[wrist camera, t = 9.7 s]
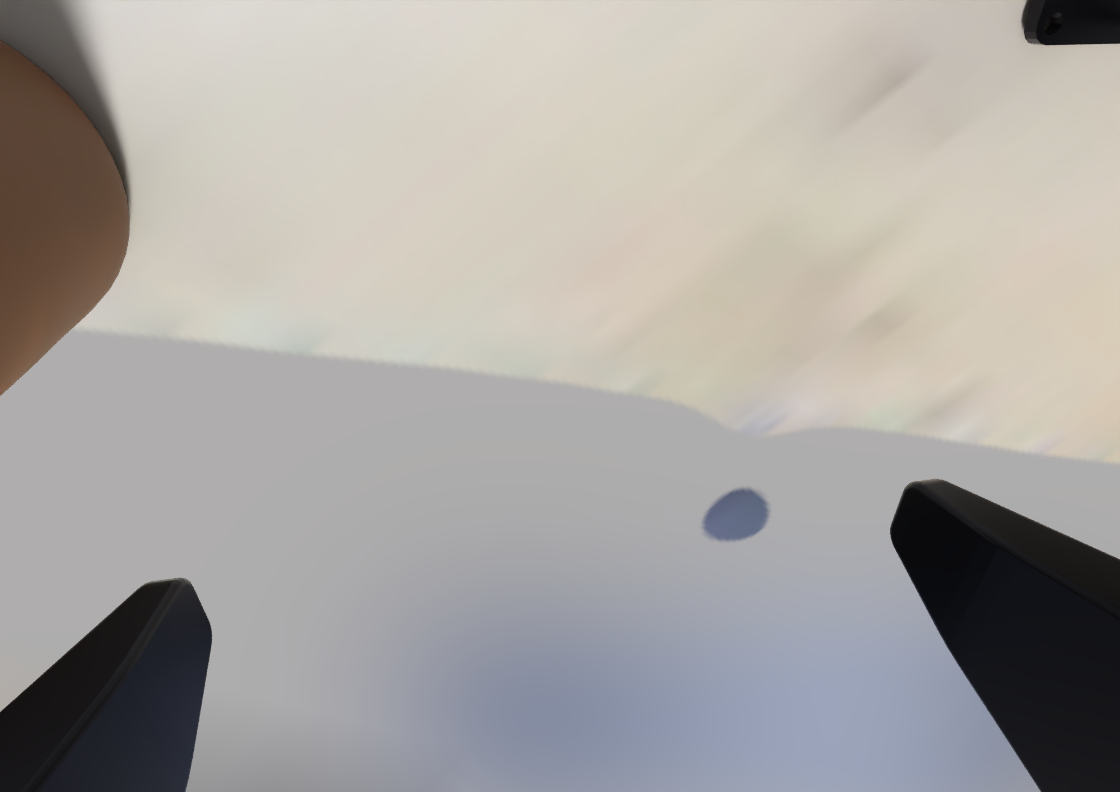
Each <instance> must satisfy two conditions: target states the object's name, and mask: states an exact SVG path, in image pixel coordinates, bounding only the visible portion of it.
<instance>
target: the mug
mask: <svg viewBox="0 0 1120 792" xmlns="http://www.w3.org/2000/svg"><path fill="white" fill-rule="evenodd" d="M128 240H129V210H128V203H127V197H126V194H125V190H124V186H123V183H122V179H121V176H120V174H119V172H118V169H117V167H116V165H115V162H114V160H113V157H112V155H111V154H110V152H109V150H108V148H107V147H106V145H105V143H104V141H103V139H102V138H101V136H100V134H99V133H98V132H97V130H96V129H95V127H94V126H93V125H92V123H91V122H90V120H89V119H88V118H87V116H86V115H85V114H84V112H83V111H82V110H81V109H80V108H79V107H78V105H77V104H76V103H75V102H74V101H73V100H72V99H71V97H70V96H69V95H68V94H67V93H66V92H65V91H64V90H63V89H62V88H61V87H60V86H59V85H58V84H57V83H56V82H54V81H53V80H52V79H51V78H50V77H49V76H48V75H47V74H46V73H45V72H44V71H42V70H41V69H40V68H39V67H37V66H36V65H35V64H34V63H32V62H31V61H30V60H28V59H27V58H26V57H25V56H23V55H22V54H21V53H19V52H17V51H16V50H14V49H13V48H11V47H10V46H8V45H7V44H5V43H4V42H2V41H1V40H0V396H1V395H2V394H3V393H4V392H5V391H6V390H7V389H8V388H9V387H10V386H11V385H13V384H14V383H15V382H16V381H17V380H18V379H19V378H20V377H22V376H23V375H24V374H25V373H26V372H27V371H28V370H29V369H30V368H31V367H32V366H33V365H34V364H35V363H37V362H38V361H39V360H40V359H41V358H42V357H43V356H44V355H45V354H46V353H47V352H48V351H49V350H50V349H51V348H52V347H53V346H54V345H55V344H56V343H57V342H58V341H59V340H60V339H61V338H62V337H63V336H64V335H65V334H66V333H68V332H69V331H70V330H71V329H72V328H73V327H74V326H75V325H76V324H77V323H79V322H80V321H81V320H82V319H83V318H84V317H85V316H86V315H87V314H88V313H89V312H90V311H91V310H92V309H93V308H94V307H95V306H96V305H97V303H98V302H99V301H100V300H101V299H102V298H103V296H104V295H105V294H106V293H107V292H108V290H109V289H110V288H111V286H112V284H113V282H114V281H115V279H116V277H117V276H118V273H119V271H120V269H121V266H122V263H123V260H124V258H125V255H126V251H127V246H128Z"/></svg>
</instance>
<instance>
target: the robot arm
mask: <svg viewBox="0 0 1120 792" xmlns="http://www.w3.org/2000/svg"><path fill="white" fill-rule="evenodd" d="M1049 17H1051V19H1050V24H1049V26H1048V28H1047V29H1046V30H1044V29H1045V23H1046V22H1047V20H1048V18H1049ZM1024 34H1025V39H1026V40H1027V41H1028V42H1029V43H1031V44H1037V45H1076V44H1120V0H1033V2H1032V5H1031V8H1030V11H1029V14H1028V17H1027V20H1026V23H1025V29H1024ZM890 534H891V540H892V543H893V546H894V548H895V550H896V552H897V553H898V555H899V557H900V559H901V561H902V563H903V565H904V567H905V569H906V570H907V573H908V574H909V576H910V578H911V580H912V582H913V584H914V586H915V588H916V590H917V592H918V593H919V595H920V597H921V599H922V601H923V603H924V605H925V607H926V609H927V611H928V613H929V614H930V616H931V618H932V620H933V622H934V624H935V626H936V628H937V630H938V631H939V633H940V635H941V637H942V638H943V640H944V642H945V644H946V646H947V648H948V649H949V651H950V652H951V654H952V656H953V657H954V659H955V660H956V662H957V664H958V665H959V667H960V668H961V670H962V671H963V673H964V674H965V676H966V678H967V679H968V680H969V682H970V684H971V685H972V687H973V688H974V690H975V691H976V693H977V694H978V696H979V697H980V699H981V701H982V702H983V704H984V705H985V706H986V708H987V710H988V711H989V713H990V714H991V716H992V717H993V719H994V720H995V722H996V723H997V725H998V727H999V728H1000V730H1001V731H1002V732H1003V734H1004V736H1005V737H1006V739H1007V740H1008V742H1009V743H1010V745H1011V747H1012V748H1013V750H1014V751H1015V753H1016V754H1017V756H1018V757H1019V759H1020V760H1021V762H1022V763H1023V765H1024V767H1025V768H1026V769H1027V771H1028V773H1029V774H1030V776H1031V777H1032V779H1033V780H1034V782H1035V783H1036V785H1037V786H1038V788H1039V790H1040V791H1041V792H1120V559H1118V558H1116V557H1113V556H1111V555H1109V554H1106V553H1105V552H1102V551H1100V550H1098V549H1095V548H1093V547H1091V546H1089V545H1087V544H1084V543H1082V542H1080V541H1078V540H1076V539H1073V538H1071V537H1069V536H1067V535H1064V534H1062V533H1060V532H1058V531H1055V530H1053V529H1051V528H1049V527H1047V526H1044V525H1042V524H1040V523H1038V522H1036V521H1034V520H1031V519H1029V518H1027V517H1025V516H1022V515H1020V514H1018V513H1016V512H1014V511H1011V510H1009V509H1007V508H1005V507H1002V506H1000V505H998V504H996V503H994V502H991V501H989V500H987V499H985V498H982V497H980V496H978V495H976V494H973V493H971V492H969V491H967V490H965V489H962V488H960V487H958V486H956V485H953V484H951V483H949V482H947V481H944V480H940V479H931V480H924V481H916V482H912V483H909V484H908V485H907V486H906V487H905V489H904V491H903V493H902V496H901V499H900V502H899V504H898V507H897V510H896V513H895V515H894V518H893V521H892V524H891V528H890ZM211 644H212V631H211V625H210V622H209V620H208V618H207V616H206V613H205V611H204V609H203V607H202V605H201V603H200V600H199V598H198V596H197V594H196V592H195V590H194V587H193V586H192V584H191V582H190V581H188V580H187V579H185V578H174V579H167V580H159V581H152V582H149V583H146V584H144V585H143V586H141V587H140V588H139V589H137V590H136V591H135V592H134V593H133V594H132V595H131V596H130V597H128V598H127V599H126V600H125V601H124V602H123V603H122V604H121V605H120V606H118V607H117V608H116V609H115V610H114V611H113V612H112V613H111V614H109V615H108V616H107V617H106V618H105V619H104V620H103V621H102V622H100V623H99V624H98V625H97V626H96V627H95V628H94V629H93V630H91V631H90V632H89V633H88V634H87V635H86V636H85V637H84V638H83V639H81V640H80V641H79V642H78V643H77V644H76V645H75V646H74V647H73V648H71V649H70V650H69V651H68V652H67V653H66V654H65V655H64V656H62V658H60V659H59V660H58V661H57V662H56V663H55V664H53V665H52V666H51V667H50V668H49V669H48V670H47V671H46V672H45V673H44V674H42V675H41V676H40V677H39V678H38V679H37V680H36V681H35V682H33V684H31V685H30V686H29V687H28V688H27V689H25V690H24V691H23V692H22V693H21V694H20V695H19V696H18V697H17V698H16V699H15V700H13V701H12V702H11V703H10V704H9V705H8V706H6V707H5V708H4V709H3V710H2V711H1V712H0V792H185V791H186V787H187V783H188V779H189V774H190V769H191V764H192V759H193V752H194V747H195V741H196V735H197V729H198V723H199V717H200V710H201V705H202V699H203V693H204V687H205V681H206V675H207V668H208V663H209V657H210V651H211Z"/></svg>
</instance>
